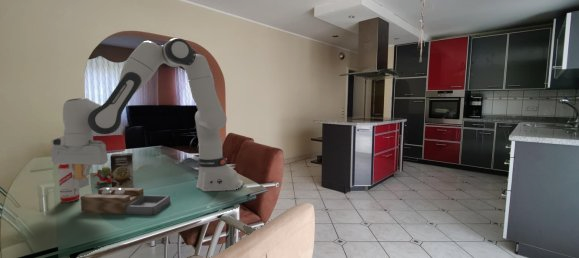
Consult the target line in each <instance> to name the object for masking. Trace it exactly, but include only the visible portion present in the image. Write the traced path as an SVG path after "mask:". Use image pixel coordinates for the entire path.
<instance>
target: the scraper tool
mask: <svg viewBox="0 0 579 258" xmlns="http://www.w3.org/2000/svg"><path fill="white" fill-rule="evenodd" d="M85 168H86V167H84V164H75V179H74V188H75V189H79V190H80V189H81V188H85V187H87V186H89V185H90V182H89V181H90V179H89V178H90V177H89V175H87V176H83V175H82V171H84V170H85Z"/></svg>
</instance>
